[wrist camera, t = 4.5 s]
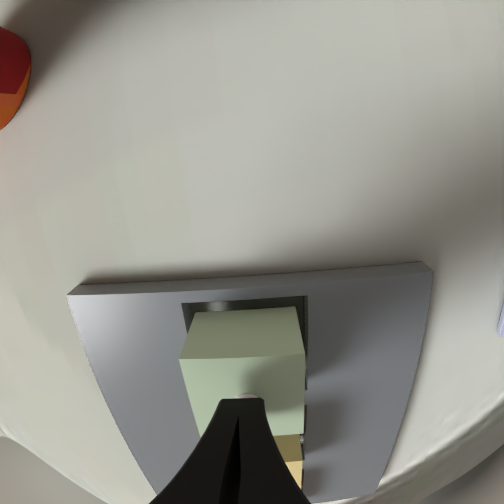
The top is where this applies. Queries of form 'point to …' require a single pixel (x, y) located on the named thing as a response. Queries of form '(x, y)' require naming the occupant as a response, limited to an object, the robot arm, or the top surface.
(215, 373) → the tile one pip
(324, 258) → the top surface
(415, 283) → the grey slotted tray
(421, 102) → the top surface
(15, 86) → the paper cup
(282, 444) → the tile two pips
